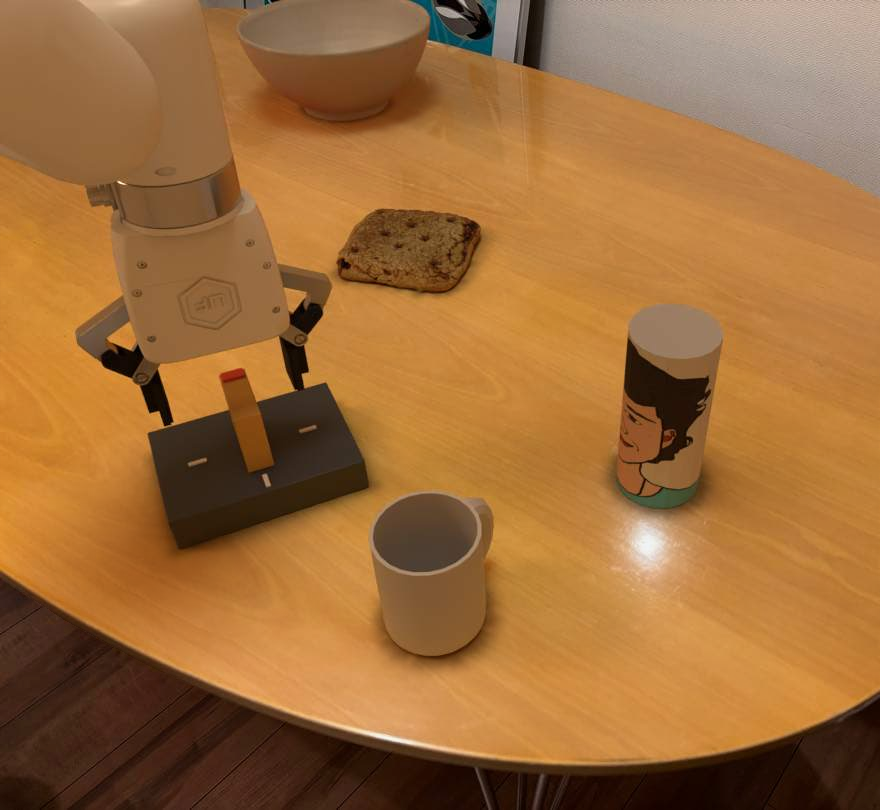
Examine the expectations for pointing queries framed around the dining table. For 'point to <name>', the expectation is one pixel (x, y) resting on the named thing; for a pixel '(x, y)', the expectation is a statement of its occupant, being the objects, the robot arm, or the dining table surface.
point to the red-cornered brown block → (246, 419)
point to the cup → (432, 569)
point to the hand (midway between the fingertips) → (232, 397)
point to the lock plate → (263, 491)
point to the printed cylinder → (666, 403)
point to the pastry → (409, 249)
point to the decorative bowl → (336, 52)
